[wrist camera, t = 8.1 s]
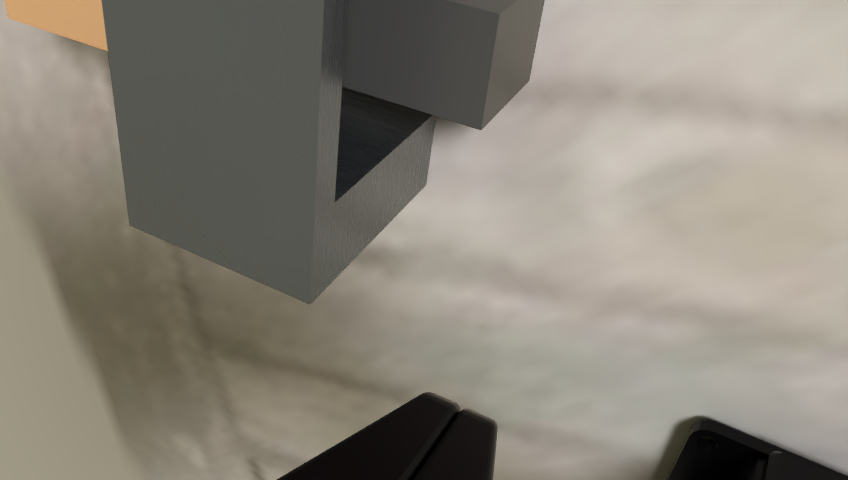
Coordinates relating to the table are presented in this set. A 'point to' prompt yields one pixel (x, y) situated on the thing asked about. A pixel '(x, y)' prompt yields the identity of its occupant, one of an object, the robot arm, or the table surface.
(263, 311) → the table surface
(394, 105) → the grey arch block
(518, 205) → the table surface
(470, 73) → the plug
